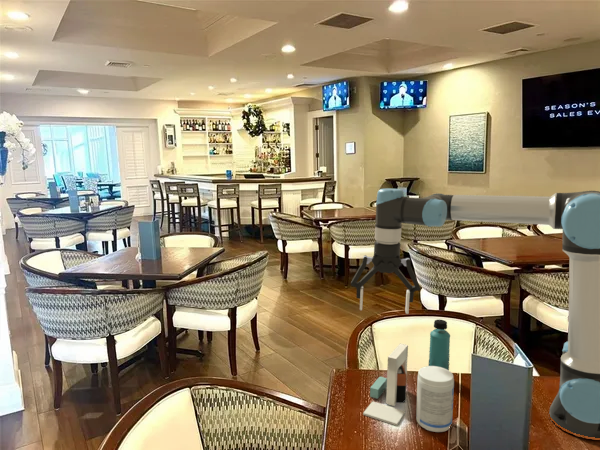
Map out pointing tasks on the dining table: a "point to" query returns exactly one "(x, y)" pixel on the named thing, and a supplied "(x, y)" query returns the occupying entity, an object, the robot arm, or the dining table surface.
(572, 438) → the dining table surface
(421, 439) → the dining table surface
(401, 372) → the battery
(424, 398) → the supplement tub
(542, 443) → the dining table surface
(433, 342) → the beverage bottle
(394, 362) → the white u-shaped bracket
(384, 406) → the mat
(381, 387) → the block
